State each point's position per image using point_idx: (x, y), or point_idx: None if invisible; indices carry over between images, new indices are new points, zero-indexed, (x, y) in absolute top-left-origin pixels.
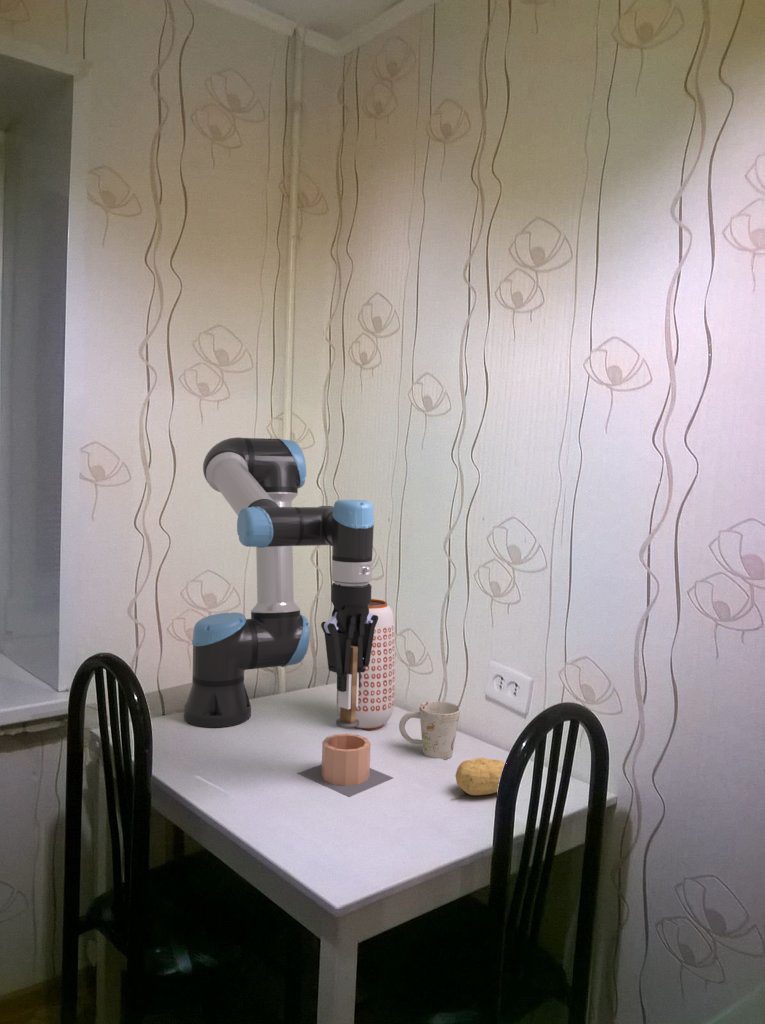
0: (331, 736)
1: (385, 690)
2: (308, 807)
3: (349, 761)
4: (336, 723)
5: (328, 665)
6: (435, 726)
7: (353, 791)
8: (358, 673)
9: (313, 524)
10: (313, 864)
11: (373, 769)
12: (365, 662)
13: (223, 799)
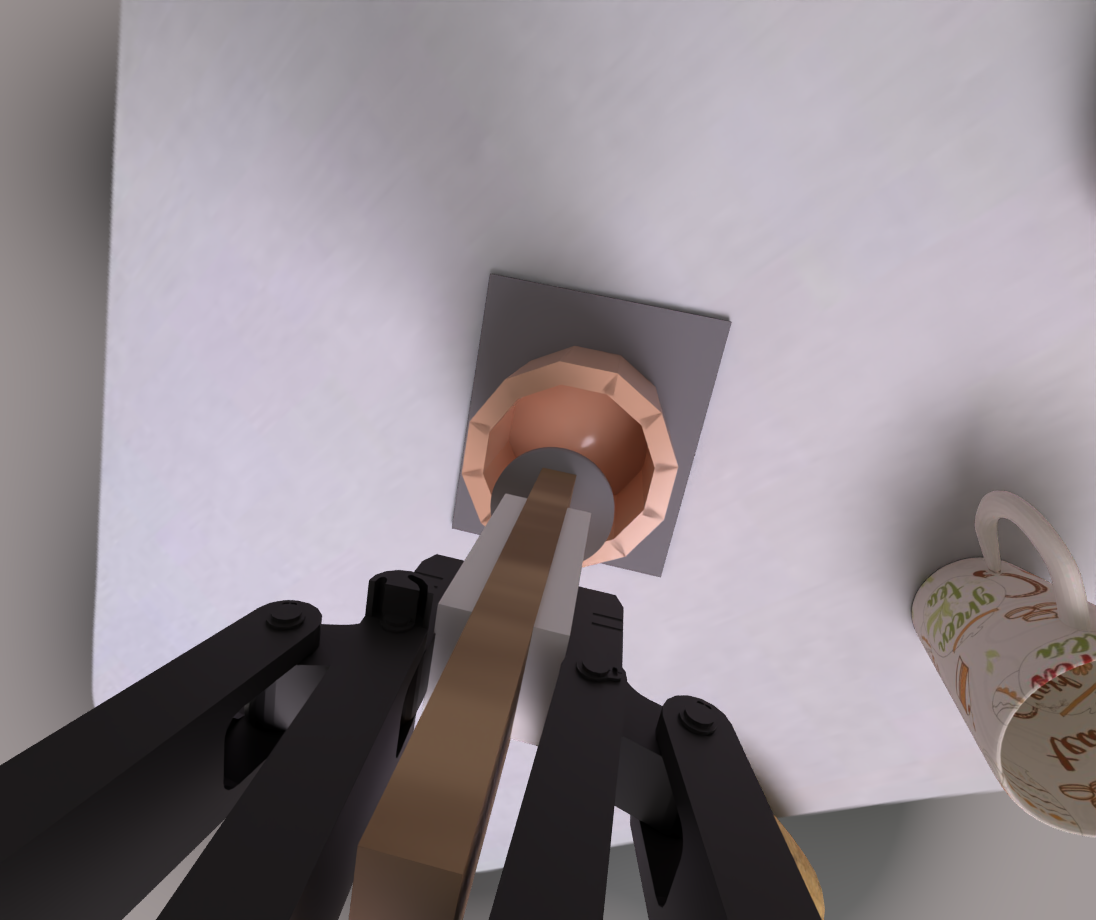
0: (585, 374)
1: None
2: (335, 455)
3: None
4: (504, 469)
5: (229, 630)
6: (965, 715)
7: None
8: (536, 742)
9: None
10: (148, 621)
11: (684, 489)
12: (636, 833)
13: (192, 191)
